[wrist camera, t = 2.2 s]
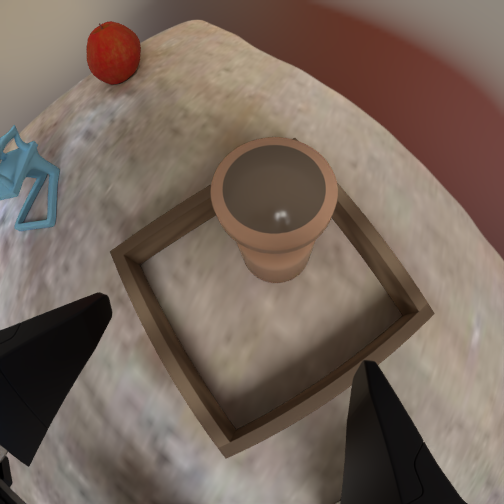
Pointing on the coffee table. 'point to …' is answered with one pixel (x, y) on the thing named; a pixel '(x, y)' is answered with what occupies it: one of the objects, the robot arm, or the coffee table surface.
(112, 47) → the apple
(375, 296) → the coffee table surface
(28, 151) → the chair
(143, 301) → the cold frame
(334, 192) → the terracotta pot
